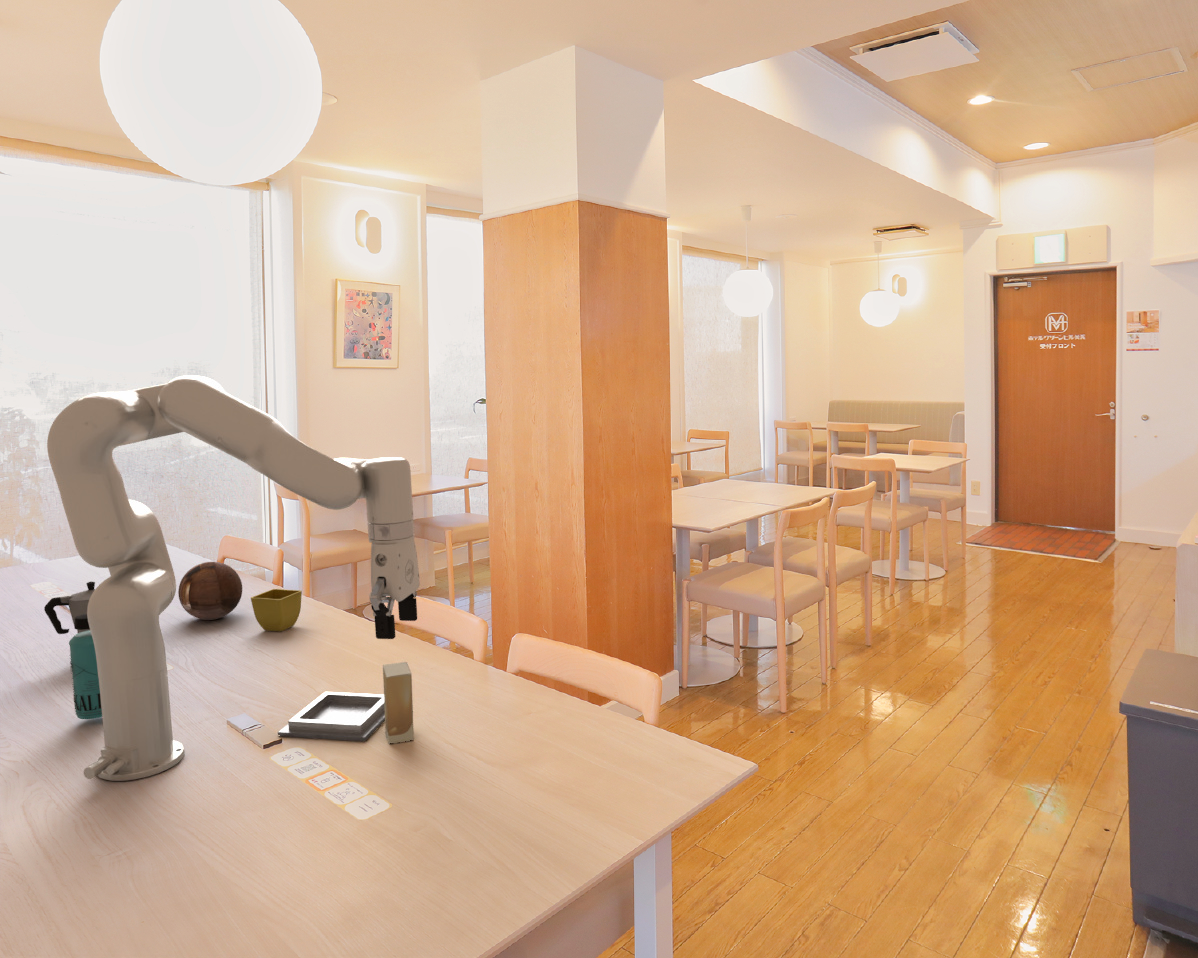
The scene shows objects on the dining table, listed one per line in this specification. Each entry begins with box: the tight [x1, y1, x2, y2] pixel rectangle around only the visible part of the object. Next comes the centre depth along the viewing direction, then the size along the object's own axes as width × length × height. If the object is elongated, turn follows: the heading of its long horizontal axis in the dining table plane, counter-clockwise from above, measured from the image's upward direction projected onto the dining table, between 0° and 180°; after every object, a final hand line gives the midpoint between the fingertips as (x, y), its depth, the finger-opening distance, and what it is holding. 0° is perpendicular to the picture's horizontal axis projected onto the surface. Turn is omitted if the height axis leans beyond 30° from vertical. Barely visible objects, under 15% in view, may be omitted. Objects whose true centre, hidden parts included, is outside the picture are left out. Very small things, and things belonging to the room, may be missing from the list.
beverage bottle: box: [68, 614, 102, 720], centre depth 146 cm, size 6×7×20 cm
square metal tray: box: [277, 691, 385, 743], centre depth 147 cm, size 16×16×2 cm
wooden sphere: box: [177, 561, 243, 621], centre depth 209 cm, size 15×15×15 cm
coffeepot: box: [43, 581, 96, 635], centre depth 178 cm, size 15×9×18 cm, turn 129°
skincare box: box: [382, 661, 415, 745], centre depth 139 cm, size 6×4×12 cm
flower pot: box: [250, 588, 303, 633], centre depth 200 cm, size 9×9×9 cm
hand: (397, 628), depth 137 cm, fingers open, 9 cm apart
